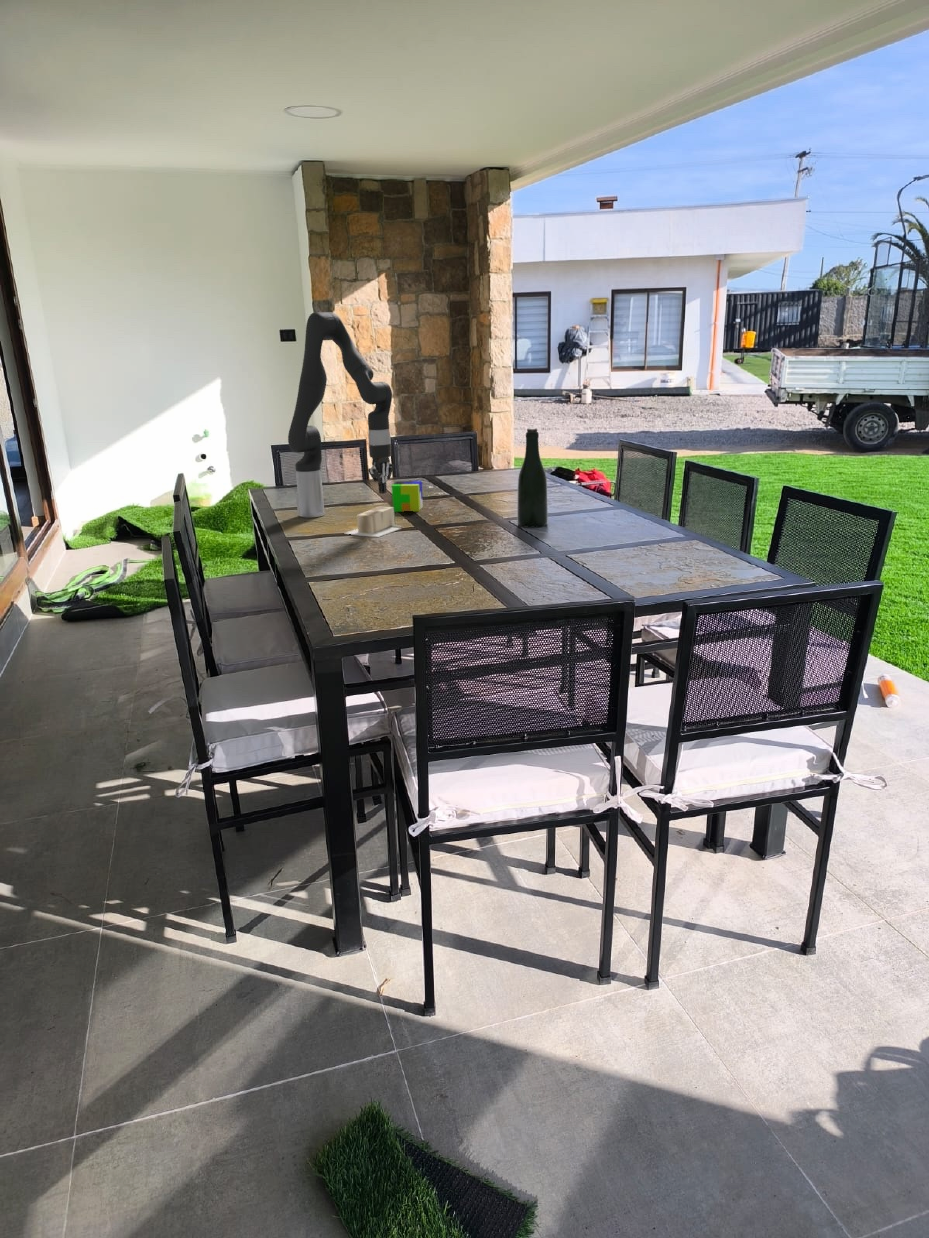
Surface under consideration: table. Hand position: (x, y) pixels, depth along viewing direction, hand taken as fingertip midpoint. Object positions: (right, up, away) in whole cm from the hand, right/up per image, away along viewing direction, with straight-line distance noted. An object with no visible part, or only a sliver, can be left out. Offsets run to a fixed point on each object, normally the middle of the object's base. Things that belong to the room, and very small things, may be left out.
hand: (382, 493), depth 291 cm
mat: (-3, -13, -2) cm, 14 cm away
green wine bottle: (+52, -11, 0) cm, 53 cm away
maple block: (+1, -7, +5) cm, 8 cm away
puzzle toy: (+7, -1, +34) cm, 35 cm away
